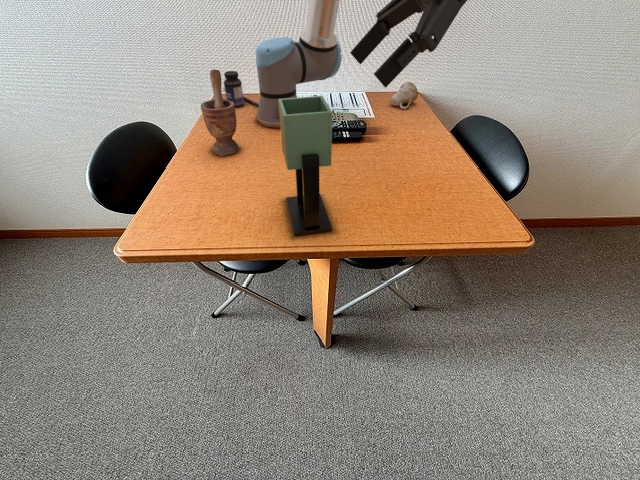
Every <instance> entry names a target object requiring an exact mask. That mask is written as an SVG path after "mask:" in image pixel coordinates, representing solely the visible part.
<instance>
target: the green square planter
mask: <svg viewBox="0 0 640 480" xmlns="http://www.w3.org/2000/svg"><path fill="white" fill-rule="evenodd" d="M278 104H279V116H280V128H279V129H280V137H281V150H282V154H283V157H284V158H283V159H284V162H285V165H286V170H287V171H294V170H295V169H302V155H310V154H318V155H319V168H321V167H332V155H333V153H332V151H333V150H332V149H333V111H332V109H331V107H330V106H329V104H328V103H327V100H325V98H324V96H323V95H314V96H312V95H311V96H302V97H301V96H297V98H285V99H278Z"/></svg>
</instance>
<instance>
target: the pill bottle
mask: <svg viewBox="0 0 640 480" xmlns="http://www.w3.org/2000/svg"><path fill="white" fill-rule="evenodd" d="M223 74H224V78H225V79H224V80H223V86H224V93H225V99H226V100H230V101H233V102H234V105H235V108H241V107H243V106H244V105H245V100H244V98H243V97H244V92H243V85H242V80H241V79H239V72H238V71H236V70H228V71H227V70H226V71H225V72H224V73H223Z"/></svg>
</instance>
